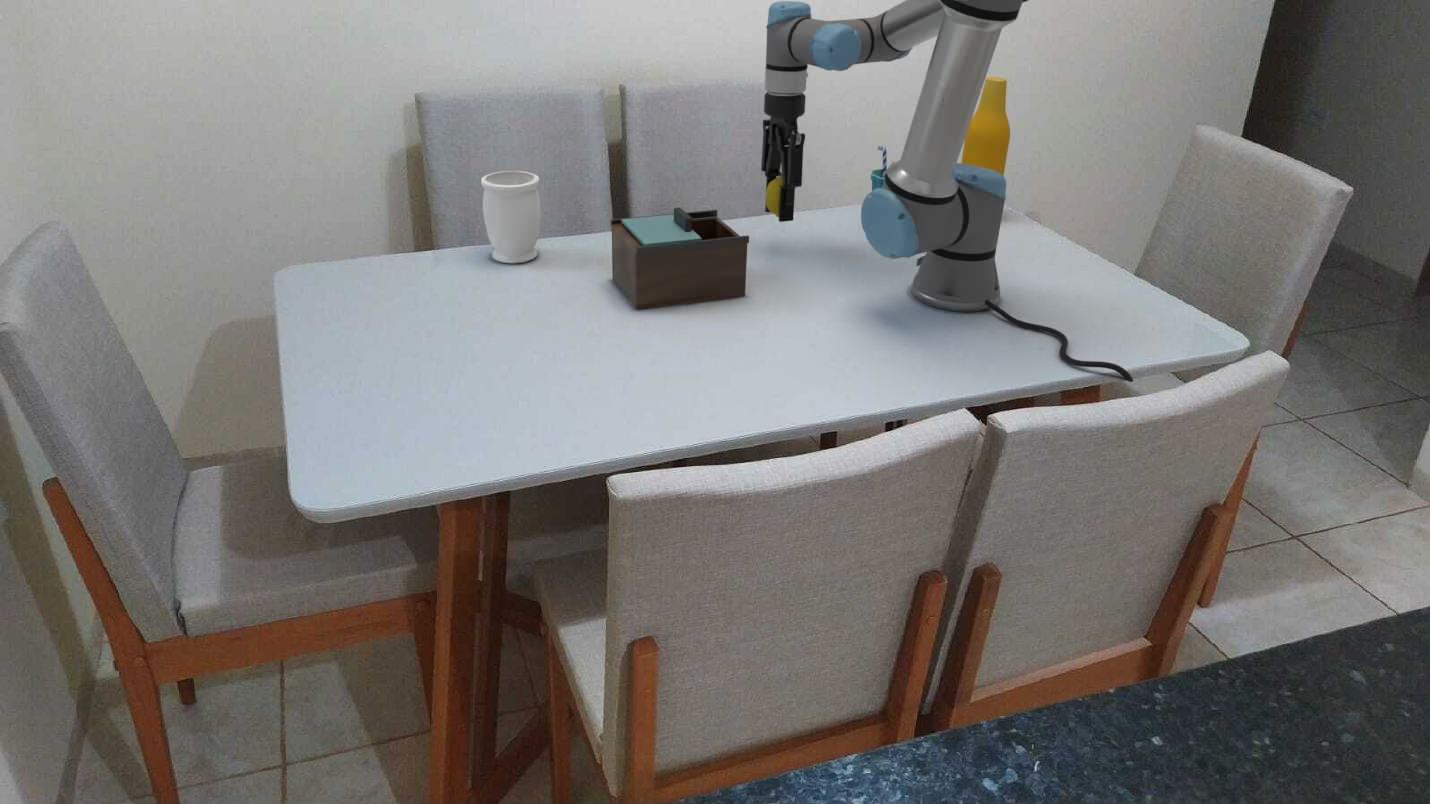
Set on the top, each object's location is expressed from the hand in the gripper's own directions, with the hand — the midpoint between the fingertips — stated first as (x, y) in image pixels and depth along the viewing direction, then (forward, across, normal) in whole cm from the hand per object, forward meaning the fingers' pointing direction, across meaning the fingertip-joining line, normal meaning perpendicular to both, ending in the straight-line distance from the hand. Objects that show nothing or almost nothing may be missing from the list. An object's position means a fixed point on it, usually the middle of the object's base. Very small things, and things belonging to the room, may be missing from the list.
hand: (779, 215), depth 201 cm
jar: (+7, +12, +49) cm, 51 cm away
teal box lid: (-4, -13, +28) cm, 31 cm away
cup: (+7, +10, -29) cm, 31 cm away
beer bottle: (+7, +8, -51) cm, 52 cm away
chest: (+7, -12, +25) cm, 29 cm away
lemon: (+1, 0, 0) cm, 1 cm away
